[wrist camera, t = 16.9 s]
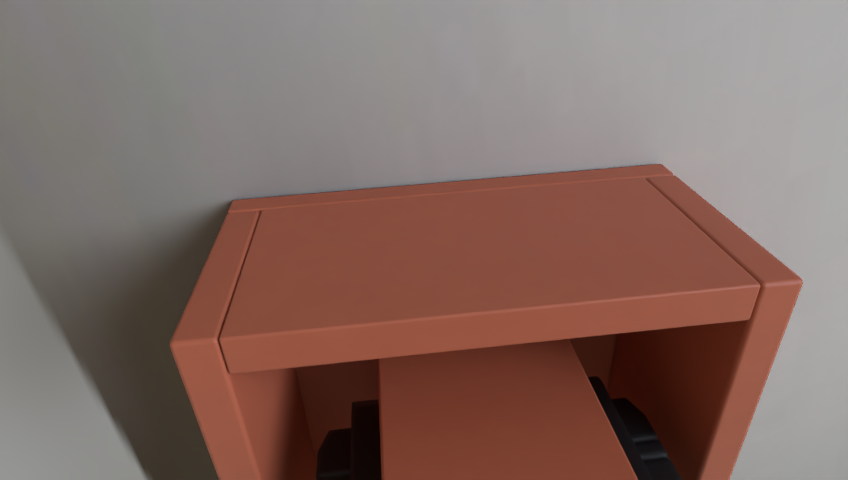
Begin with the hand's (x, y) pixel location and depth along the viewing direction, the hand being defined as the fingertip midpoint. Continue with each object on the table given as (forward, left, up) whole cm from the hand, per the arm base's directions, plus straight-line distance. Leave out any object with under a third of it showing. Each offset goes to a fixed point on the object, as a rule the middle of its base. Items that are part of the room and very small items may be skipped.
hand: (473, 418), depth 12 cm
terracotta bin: (0, 0, -2) cm, 2 cm away
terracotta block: (0, 0, 0) cm, 0 cm away
